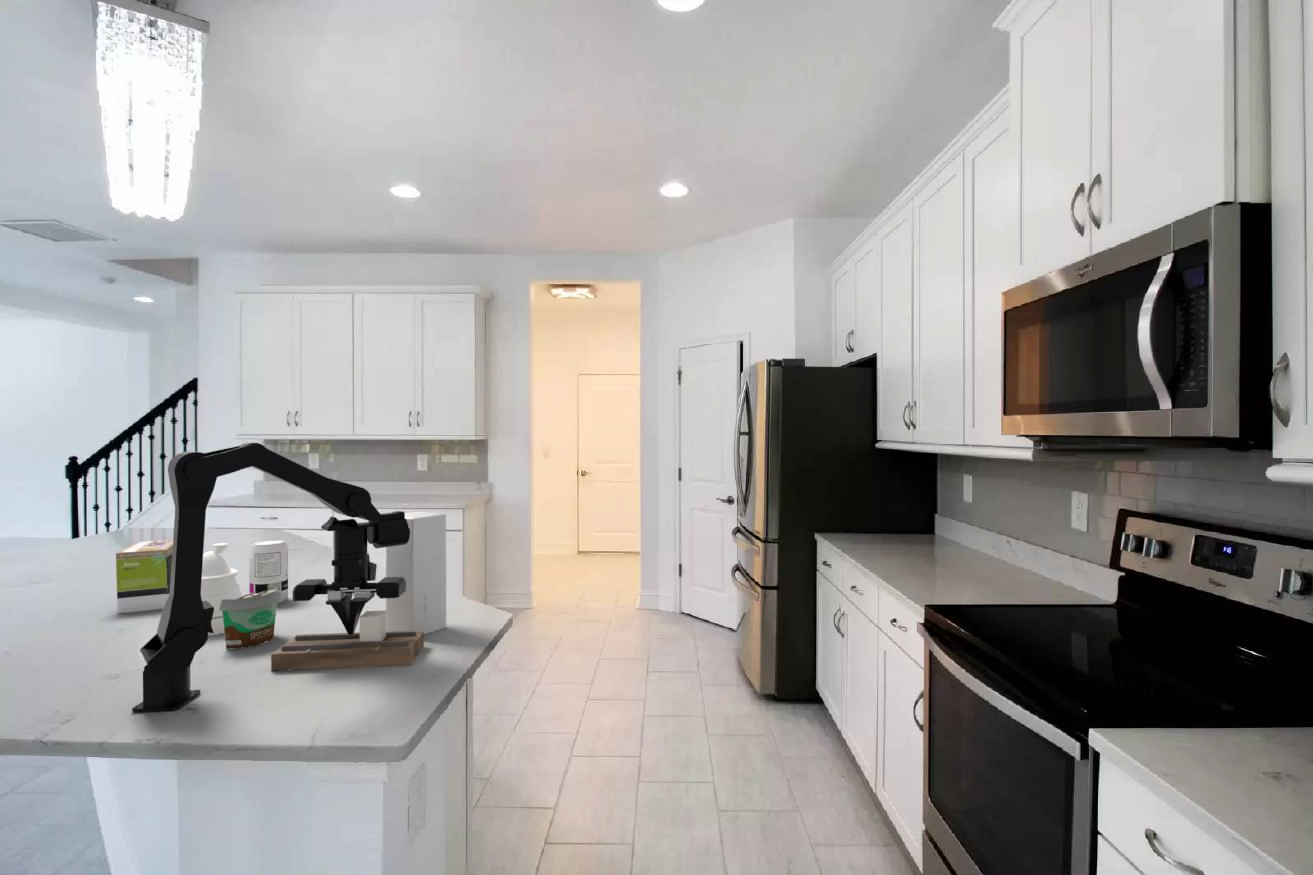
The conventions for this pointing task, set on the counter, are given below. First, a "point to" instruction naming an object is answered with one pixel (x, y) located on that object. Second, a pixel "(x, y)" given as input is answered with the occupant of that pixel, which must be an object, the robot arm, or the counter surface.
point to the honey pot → (218, 584)
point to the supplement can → (269, 567)
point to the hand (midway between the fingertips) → (351, 633)
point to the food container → (250, 618)
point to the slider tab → (373, 626)
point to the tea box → (143, 576)
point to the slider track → (347, 651)
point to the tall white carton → (419, 576)
